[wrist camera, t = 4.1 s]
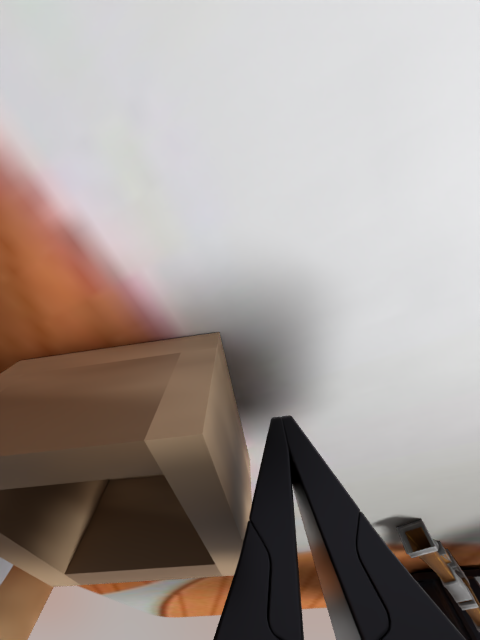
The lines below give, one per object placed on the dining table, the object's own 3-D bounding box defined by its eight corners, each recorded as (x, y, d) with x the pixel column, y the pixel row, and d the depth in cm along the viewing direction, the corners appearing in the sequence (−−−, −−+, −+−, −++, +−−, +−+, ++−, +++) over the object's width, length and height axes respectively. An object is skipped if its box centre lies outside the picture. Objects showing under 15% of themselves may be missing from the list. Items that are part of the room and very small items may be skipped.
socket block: (249, 460, 11) (254, 574, 8) (108, 473, 12) (51, 586, 8) (219, 331, 8) (202, 434, 4) (19, 360, 8) (-149, 472, 5)
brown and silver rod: (447, 573, 17) (497, 670, 13) (381, 492, 18) (408, 558, 13) (471, 568, 17) (531, 666, 12) (402, 483, 17) (437, 550, 13)
